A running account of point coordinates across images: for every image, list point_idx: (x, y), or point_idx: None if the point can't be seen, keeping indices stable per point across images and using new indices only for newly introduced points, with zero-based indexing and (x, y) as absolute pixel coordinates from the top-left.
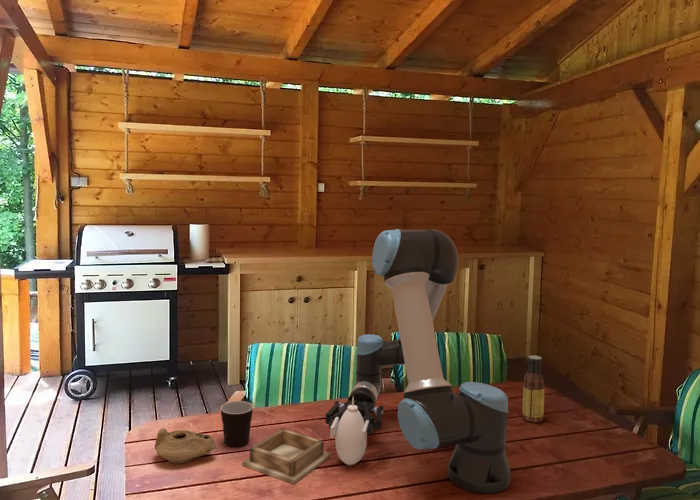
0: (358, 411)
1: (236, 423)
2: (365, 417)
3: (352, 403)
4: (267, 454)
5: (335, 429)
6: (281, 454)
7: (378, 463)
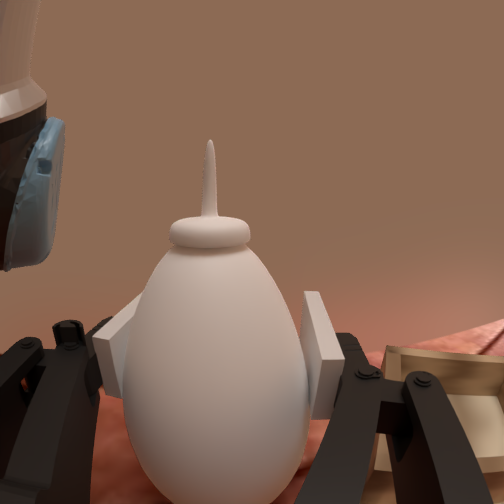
0: (166, 253)
1: None
2: (75, 468)
3: (212, 192)
4: (467, 355)
5: (306, 346)
6: (478, 440)
7: (101, 490)
